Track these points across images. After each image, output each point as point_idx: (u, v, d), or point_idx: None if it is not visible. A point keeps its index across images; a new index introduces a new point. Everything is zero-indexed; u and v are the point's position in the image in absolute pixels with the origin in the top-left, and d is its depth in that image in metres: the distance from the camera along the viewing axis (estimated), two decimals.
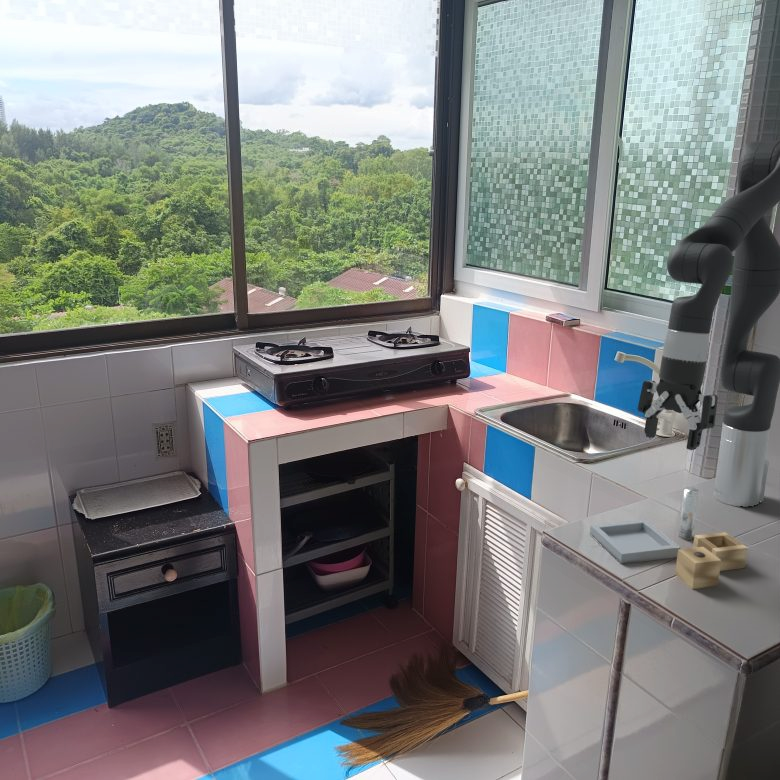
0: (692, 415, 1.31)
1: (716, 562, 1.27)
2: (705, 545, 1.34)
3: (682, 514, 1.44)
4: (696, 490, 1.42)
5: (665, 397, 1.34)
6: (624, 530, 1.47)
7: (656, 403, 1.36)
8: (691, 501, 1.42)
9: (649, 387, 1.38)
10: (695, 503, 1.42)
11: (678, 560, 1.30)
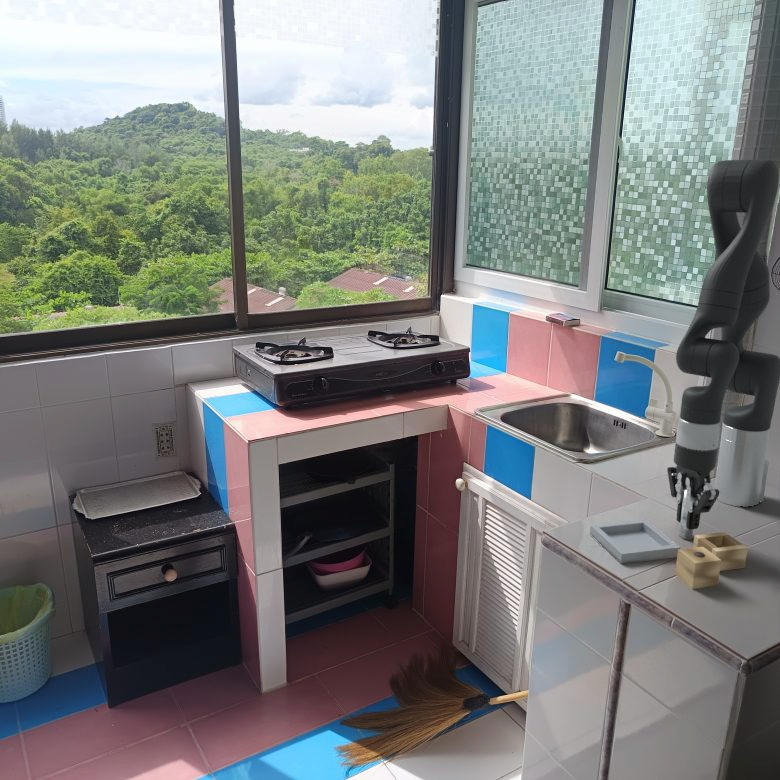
0: (693, 500, 1.41)
1: (716, 562, 1.27)
2: (705, 545, 1.34)
3: (682, 514, 1.44)
4: None
5: (680, 478, 1.43)
6: (624, 530, 1.47)
7: (678, 487, 1.44)
8: None
9: (673, 472, 1.47)
10: (695, 503, 1.42)
11: (678, 560, 1.30)
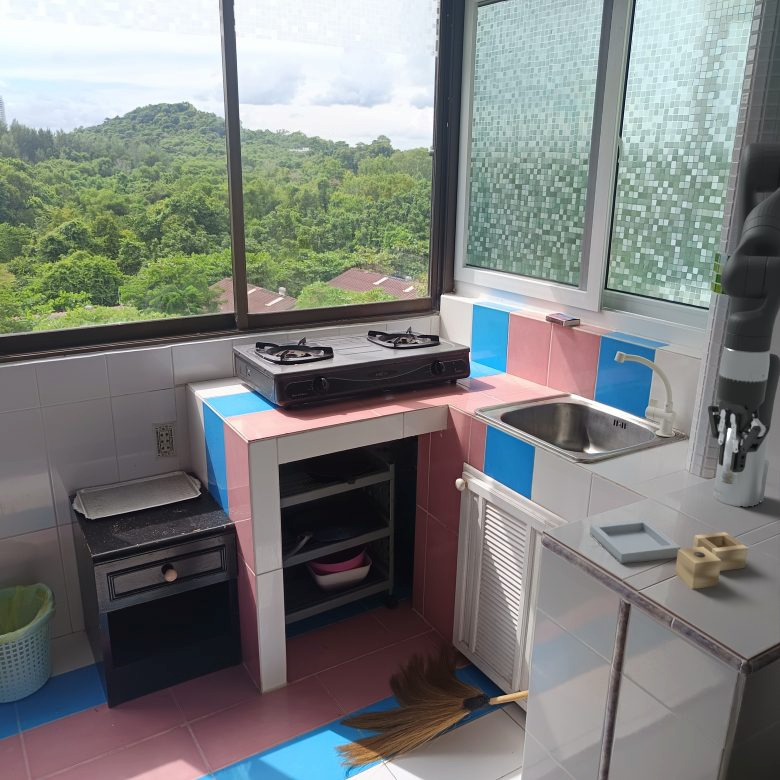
0: (738, 439, 1.27)
1: (716, 562, 1.27)
2: (705, 545, 1.34)
3: (725, 456, 1.30)
4: None
5: (724, 415, 1.29)
6: (624, 530, 1.47)
7: (720, 426, 1.31)
8: None
9: (715, 410, 1.33)
10: (740, 443, 1.29)
11: (678, 560, 1.30)
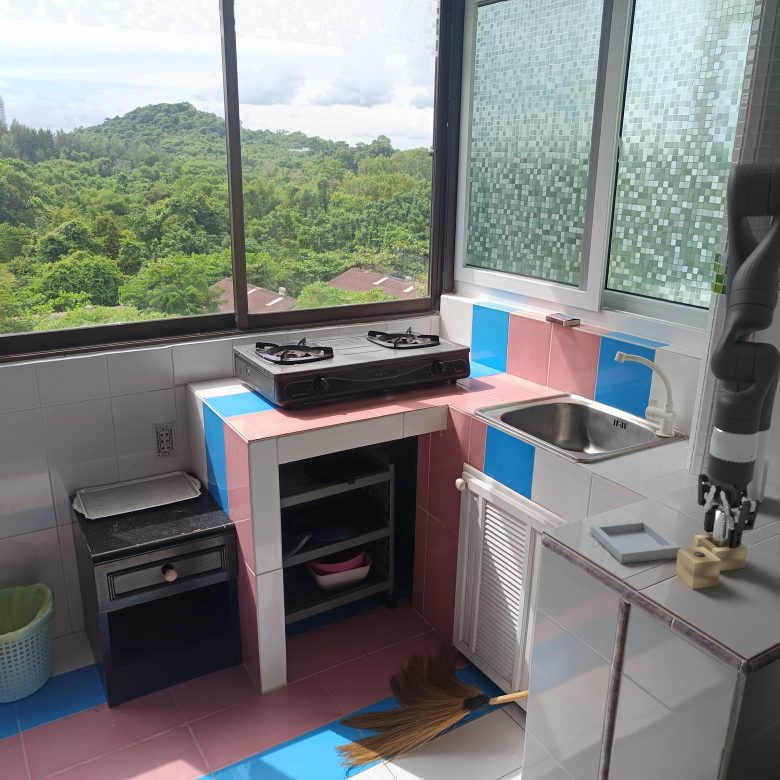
0: (732, 515, 1.30)
1: (716, 562, 1.27)
2: (705, 545, 1.34)
3: (714, 537, 1.35)
4: None
5: (713, 491, 1.33)
6: (624, 530, 1.47)
7: (708, 498, 1.35)
8: (724, 523, 1.33)
9: (704, 480, 1.37)
10: (728, 525, 1.33)
11: (678, 560, 1.30)
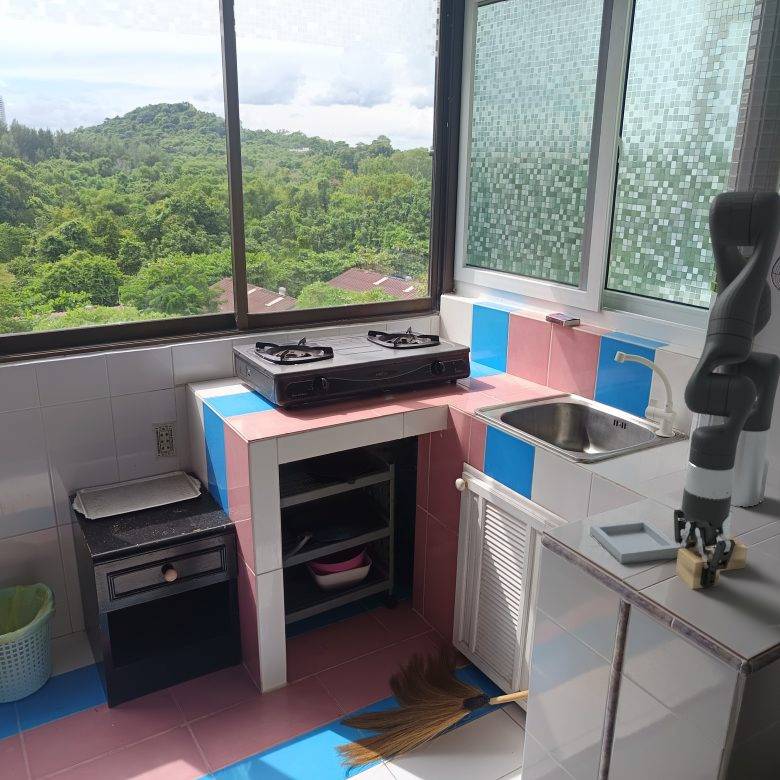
0: (706, 554, 1.25)
1: None
2: None
3: None
4: (730, 512, 1.33)
5: (689, 528, 1.28)
6: (624, 530, 1.47)
7: (684, 535, 1.29)
8: (724, 523, 1.33)
9: (680, 516, 1.32)
10: (729, 526, 1.33)
11: (678, 560, 1.30)
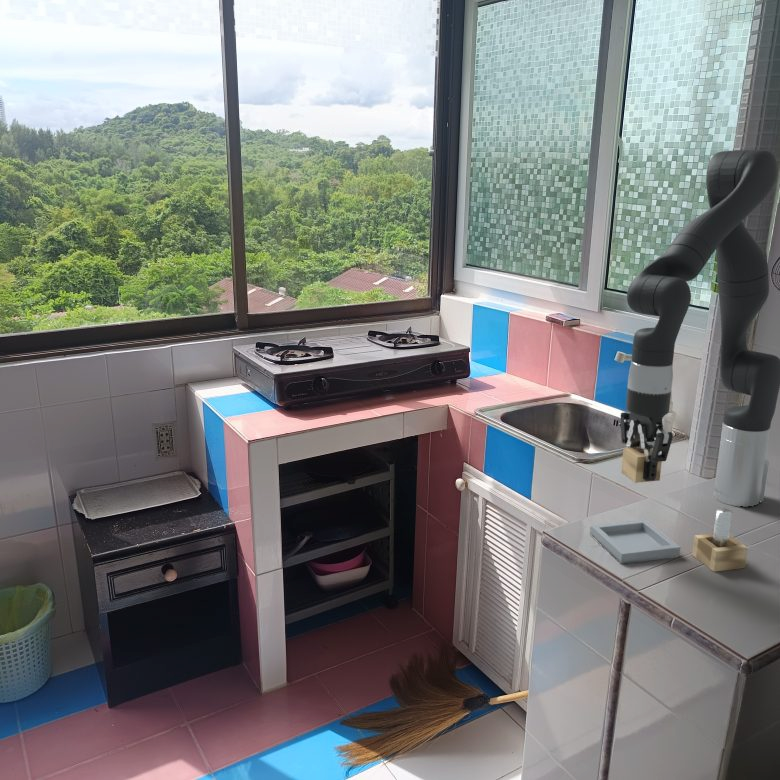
0: (648, 448, 1.33)
1: None
2: (705, 545, 1.34)
3: (714, 537, 1.35)
4: (729, 512, 1.33)
5: (632, 426, 1.36)
6: (624, 530, 1.47)
7: (629, 434, 1.38)
8: (724, 523, 1.33)
9: (626, 418, 1.40)
10: (729, 526, 1.33)
11: (623, 458, 1.39)
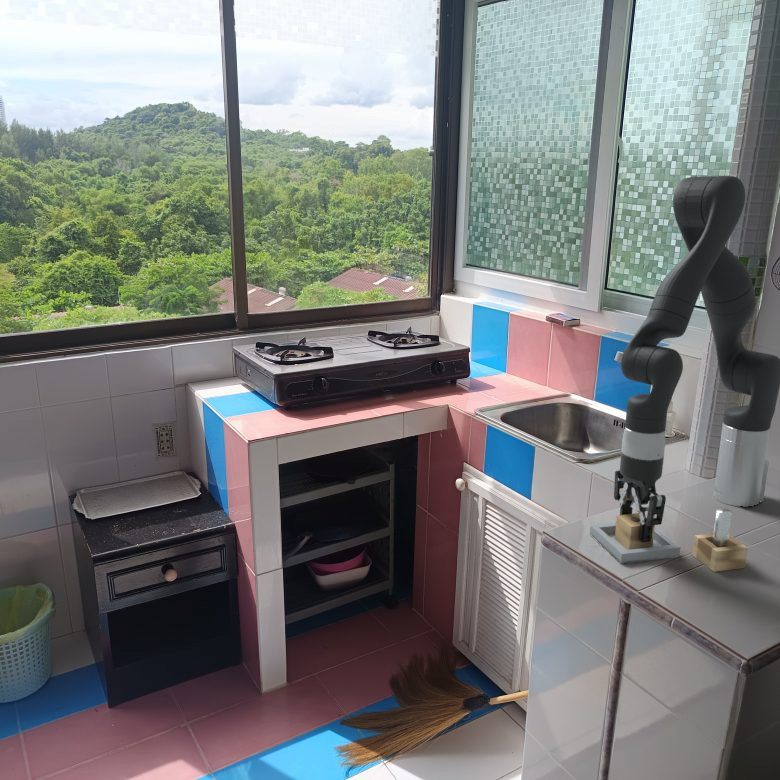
0: (642, 510, 1.36)
1: None
2: (705, 545, 1.34)
3: (714, 537, 1.35)
4: (729, 512, 1.33)
5: (626, 488, 1.40)
6: None
7: (622, 493, 1.42)
8: (724, 523, 1.33)
9: (620, 476, 1.44)
10: (728, 525, 1.33)
11: (617, 525, 1.42)
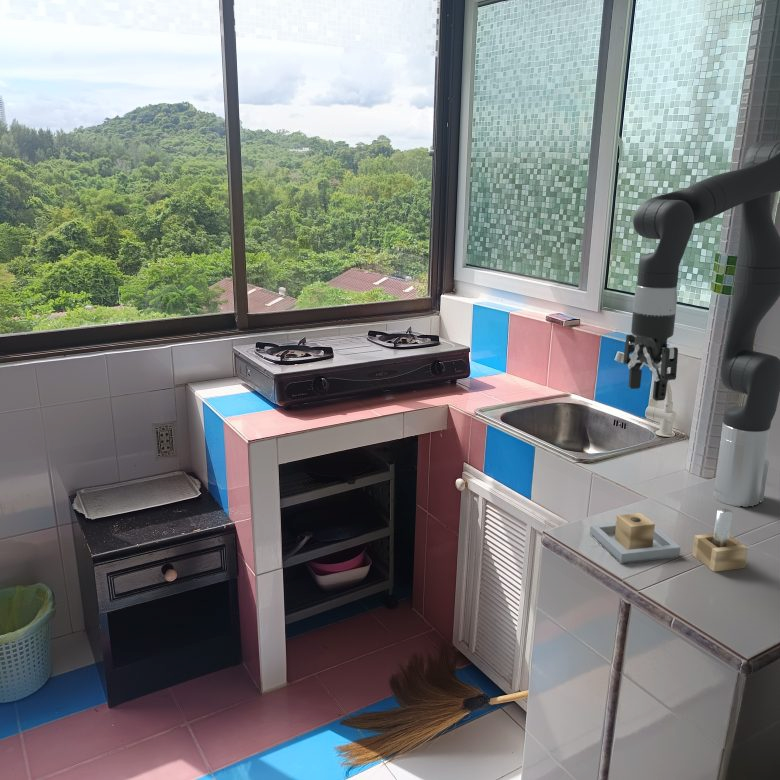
0: (656, 367, 1.36)
1: (650, 526, 1.39)
2: (705, 545, 1.34)
3: (715, 537, 1.35)
4: (730, 512, 1.33)
5: (637, 350, 1.40)
6: None
7: (633, 355, 1.42)
8: (725, 523, 1.33)
9: (631, 340, 1.44)
10: (729, 526, 1.33)
11: (617, 525, 1.42)
